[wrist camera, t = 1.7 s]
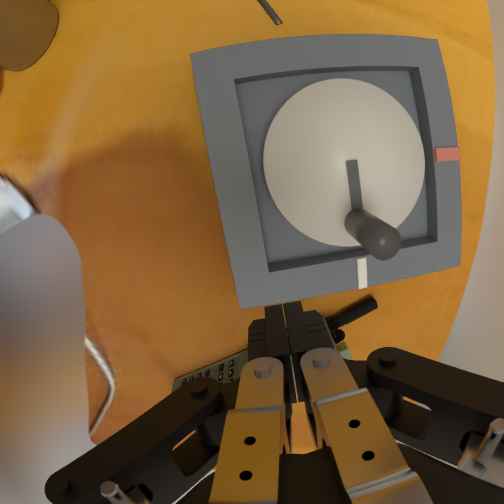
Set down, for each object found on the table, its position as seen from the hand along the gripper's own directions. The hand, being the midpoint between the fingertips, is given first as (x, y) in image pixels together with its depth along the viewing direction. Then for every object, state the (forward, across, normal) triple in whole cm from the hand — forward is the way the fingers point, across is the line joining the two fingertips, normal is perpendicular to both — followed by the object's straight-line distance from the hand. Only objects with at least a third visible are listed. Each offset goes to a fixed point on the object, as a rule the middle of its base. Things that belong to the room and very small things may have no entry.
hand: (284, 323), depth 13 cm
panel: (+17, -7, -5) cm, 19 cm away
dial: (+15, -7, -5) cm, 17 cm away
